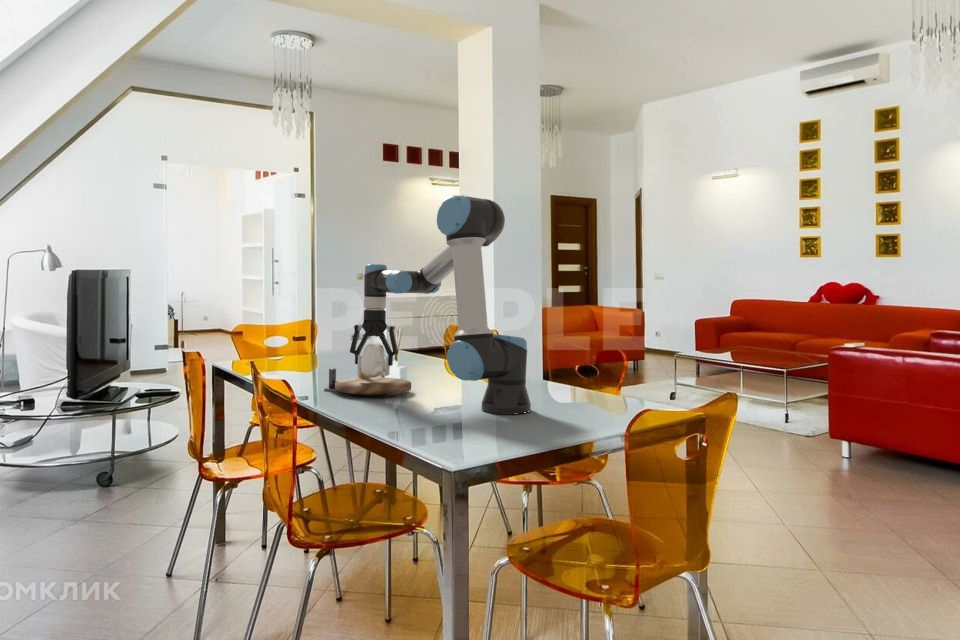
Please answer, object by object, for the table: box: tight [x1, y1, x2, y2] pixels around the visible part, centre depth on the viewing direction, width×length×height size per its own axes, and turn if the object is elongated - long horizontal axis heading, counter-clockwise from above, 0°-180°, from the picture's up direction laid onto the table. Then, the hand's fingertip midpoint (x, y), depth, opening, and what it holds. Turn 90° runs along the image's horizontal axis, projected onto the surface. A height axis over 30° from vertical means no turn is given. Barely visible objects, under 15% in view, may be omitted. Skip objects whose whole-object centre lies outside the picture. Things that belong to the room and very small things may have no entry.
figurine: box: [360, 341, 388, 378], centre depth 236 cm, size 10×10×12 cm
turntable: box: [335, 373, 412, 395], centre depth 236 cm, size 26×27×9 cm
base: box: [323, 368, 389, 397], centre depth 237 cm, size 24×14×8 cm, turn 85°
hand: (373, 374), depth 236 cm, fingers closed on figurine, 9 cm apart
